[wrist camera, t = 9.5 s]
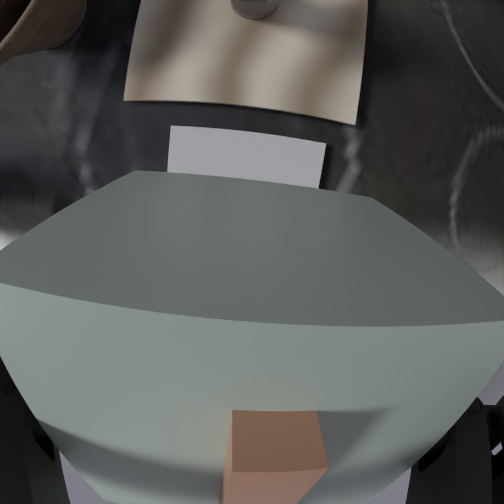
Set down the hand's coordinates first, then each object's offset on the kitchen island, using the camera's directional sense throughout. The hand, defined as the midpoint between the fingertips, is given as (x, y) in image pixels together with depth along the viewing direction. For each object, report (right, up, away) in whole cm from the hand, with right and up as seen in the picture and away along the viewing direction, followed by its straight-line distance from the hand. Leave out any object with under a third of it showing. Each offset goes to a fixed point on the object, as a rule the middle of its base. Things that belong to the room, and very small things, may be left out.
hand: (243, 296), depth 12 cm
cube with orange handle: (0, 0, 0) cm, 1 cm away
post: (0, +21, +5) cm, 22 cm away
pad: (-1, +6, +12) cm, 13 cm away
